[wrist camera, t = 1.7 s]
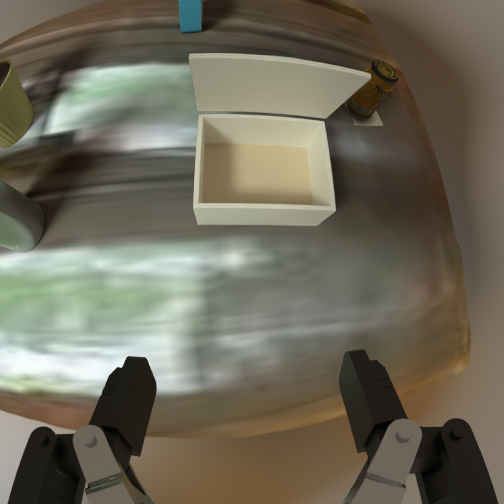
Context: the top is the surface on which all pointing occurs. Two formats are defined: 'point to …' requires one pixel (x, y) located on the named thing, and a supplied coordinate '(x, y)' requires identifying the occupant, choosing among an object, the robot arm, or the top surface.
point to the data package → (191, 15)
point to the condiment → (371, 95)
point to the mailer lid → (271, 84)
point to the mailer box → (262, 171)
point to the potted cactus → (12, 106)
